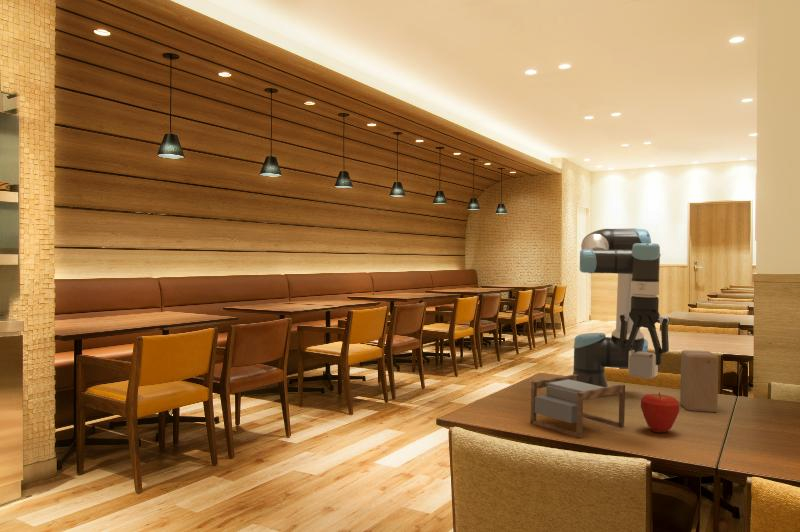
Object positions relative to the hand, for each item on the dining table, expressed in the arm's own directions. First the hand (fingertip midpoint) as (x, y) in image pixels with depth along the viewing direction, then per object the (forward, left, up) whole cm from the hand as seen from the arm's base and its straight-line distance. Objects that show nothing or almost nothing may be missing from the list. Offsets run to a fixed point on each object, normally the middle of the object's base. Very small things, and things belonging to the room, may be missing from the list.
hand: (642, 373), depth 172 cm
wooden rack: (-19, -5, -19) cm, 27 cm away
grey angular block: (-19, -9, -15) cm, 26 cm away
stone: (0, 0, 0) cm, 0 cm away
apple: (0, +10, -19) cm, 22 cm away
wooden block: (-8, +49, -19) cm, 53 cm away
